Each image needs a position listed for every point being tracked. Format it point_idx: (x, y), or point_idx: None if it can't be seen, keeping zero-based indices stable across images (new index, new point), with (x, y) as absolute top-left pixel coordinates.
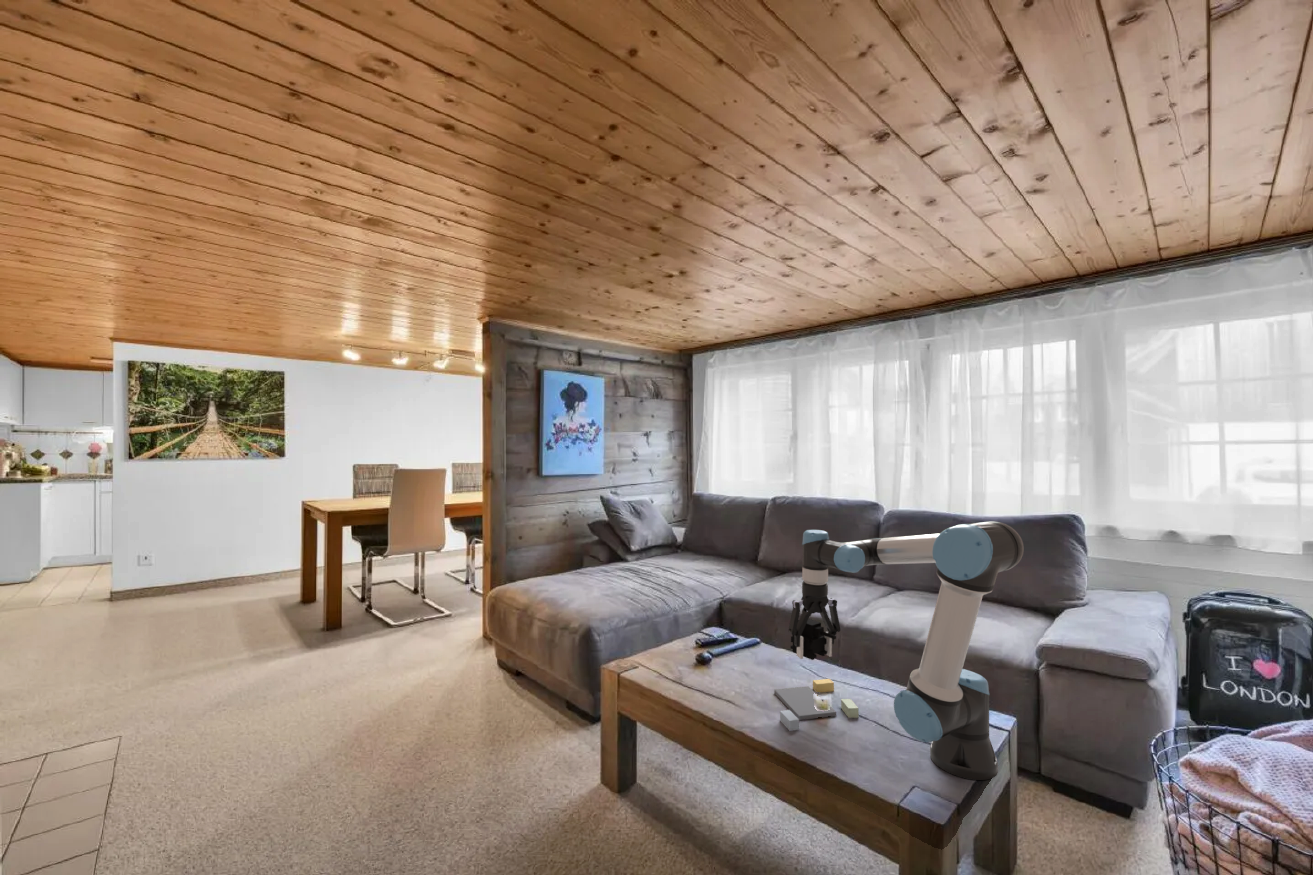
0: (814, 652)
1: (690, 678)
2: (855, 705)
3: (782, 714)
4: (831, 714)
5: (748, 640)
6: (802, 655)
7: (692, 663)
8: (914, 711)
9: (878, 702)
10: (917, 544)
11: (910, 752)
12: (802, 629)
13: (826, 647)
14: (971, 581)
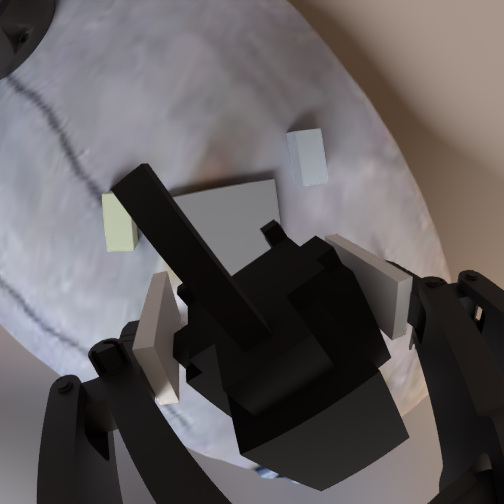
0: (273, 251)
1: (406, 350)
2: (105, 210)
3: (325, 168)
4: (178, 195)
5: (261, 476)
6: (336, 240)
7: None
8: None
9: (46, 272)
10: None
11: (69, 42)
12: (442, 310)
13: (174, 320)
14: None
